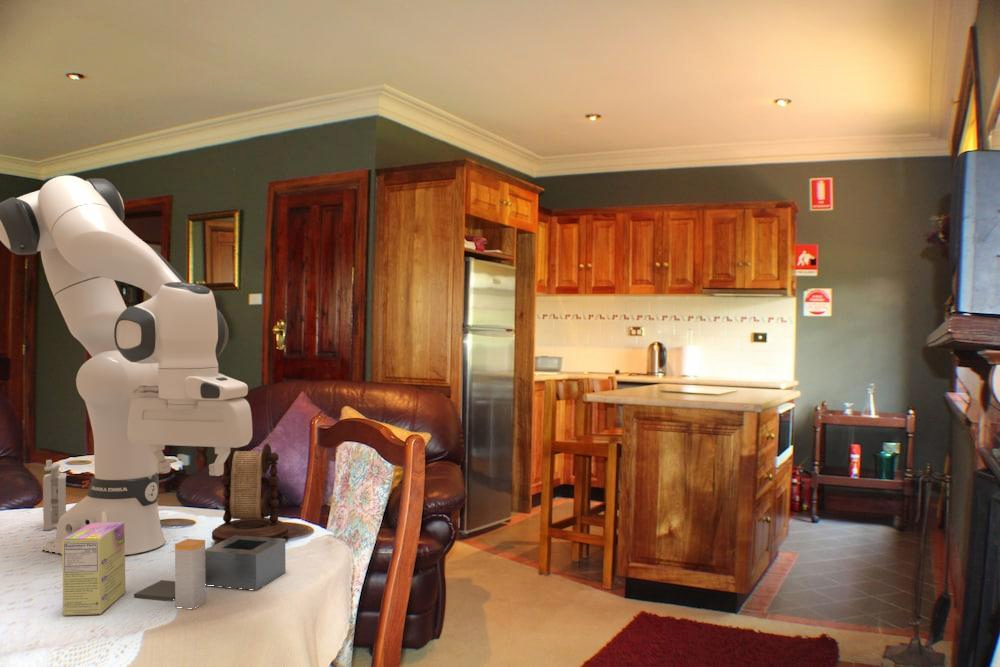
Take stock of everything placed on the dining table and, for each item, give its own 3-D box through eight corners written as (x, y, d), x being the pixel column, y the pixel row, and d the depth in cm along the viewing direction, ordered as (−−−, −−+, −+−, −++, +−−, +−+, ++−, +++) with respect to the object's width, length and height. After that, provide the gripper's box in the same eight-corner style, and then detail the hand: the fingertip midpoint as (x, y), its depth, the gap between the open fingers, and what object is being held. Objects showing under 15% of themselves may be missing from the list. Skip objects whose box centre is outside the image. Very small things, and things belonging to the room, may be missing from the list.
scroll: (200, 552, 156) (199, 448, 156) (228, 531, 171) (227, 437, 171) (275, 552, 156) (275, 449, 156) (297, 532, 171) (296, 438, 170)
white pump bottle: (68, 519, 181) (67, 453, 181) (65, 529, 172) (65, 459, 172) (46, 521, 179) (46, 454, 179) (43, 532, 171) (42, 461, 170)
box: (90, 593, 133) (89, 521, 132) (126, 592, 133) (125, 521, 133) (61, 616, 122) (60, 539, 122) (100, 615, 123) (99, 538, 122)
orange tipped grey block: (175, 608, 126) (174, 544, 126) (187, 601, 129) (187, 538, 129) (193, 609, 125) (193, 545, 125) (205, 602, 128) (205, 540, 128)
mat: (134, 597, 131) (134, 593, 131) (161, 583, 137) (161, 580, 137) (172, 600, 129) (172, 597, 129) (198, 586, 136) (198, 583, 136)
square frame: (202, 586, 136) (202, 550, 136) (234, 568, 146) (234, 535, 146) (256, 590, 134) (256, 554, 134) (285, 572, 144) (285, 538, 144)
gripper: (117, 386, 126) (118, 475, 126) (235, 388, 121) (236, 480, 121) (144, 383, 132) (145, 467, 132) (257, 385, 127) (258, 472, 127)
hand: (189, 474), depth 127 cm, fingers open, 8 cm apart
